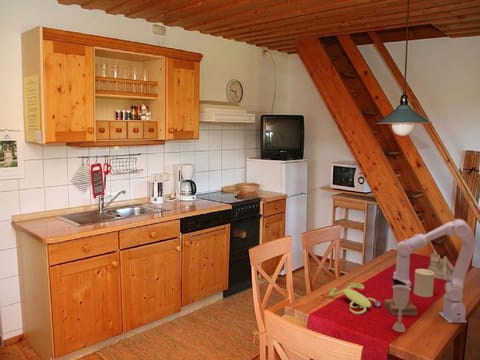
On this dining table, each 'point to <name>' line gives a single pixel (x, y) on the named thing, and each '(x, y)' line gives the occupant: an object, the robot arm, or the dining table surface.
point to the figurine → (356, 297)
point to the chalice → (400, 303)
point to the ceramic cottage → (440, 267)
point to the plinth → (391, 306)
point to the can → (424, 282)
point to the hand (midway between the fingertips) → (400, 296)
